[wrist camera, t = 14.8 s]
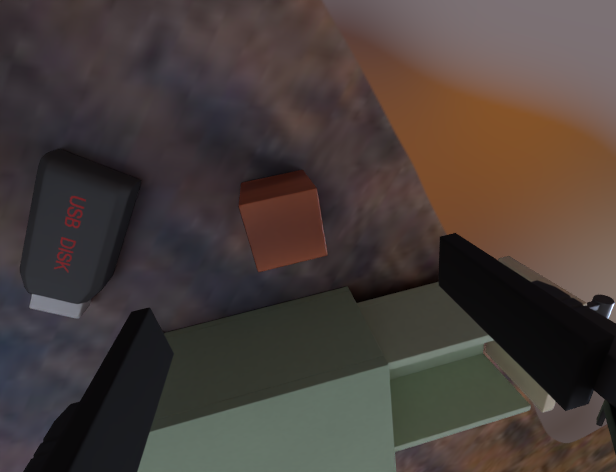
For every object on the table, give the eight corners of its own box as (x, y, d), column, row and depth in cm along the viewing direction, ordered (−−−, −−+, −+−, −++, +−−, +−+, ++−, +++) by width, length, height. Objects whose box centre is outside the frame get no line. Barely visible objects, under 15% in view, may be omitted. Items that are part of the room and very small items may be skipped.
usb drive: (142, 179, 21) (128, 190, 19) (103, 305, 25) (87, 328, 23) (59, 148, 20) (32, 155, 17) (31, 288, 23) (5, 310, 21)
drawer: (562, 241, 30) (656, 284, 23) (539, 336, 36) (608, 392, 29) (333, 300, 28) (360, 366, 21) (348, 391, 34) (373, 465, 27)
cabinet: (347, 286, 29) (388, 364, 20) (360, 383, 35) (396, 474, 27) (145, 337, 27) (96, 446, 19) (198, 430, 34) (180, 542, 25)
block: (240, 182, 23) (237, 205, 18) (302, 169, 23) (317, 187, 18) (256, 238, 25) (258, 272, 20) (313, 225, 25) (328, 255, 21)
